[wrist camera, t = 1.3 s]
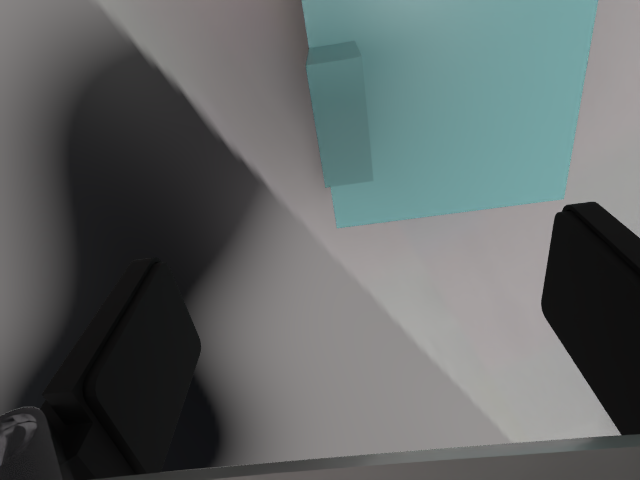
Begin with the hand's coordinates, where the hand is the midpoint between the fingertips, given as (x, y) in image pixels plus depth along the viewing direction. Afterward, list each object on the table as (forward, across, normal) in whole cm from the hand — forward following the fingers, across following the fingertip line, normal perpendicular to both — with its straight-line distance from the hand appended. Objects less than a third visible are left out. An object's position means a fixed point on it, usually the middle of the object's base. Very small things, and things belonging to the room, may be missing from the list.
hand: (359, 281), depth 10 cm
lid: (+19, -6, 0) cm, 20 cm away
